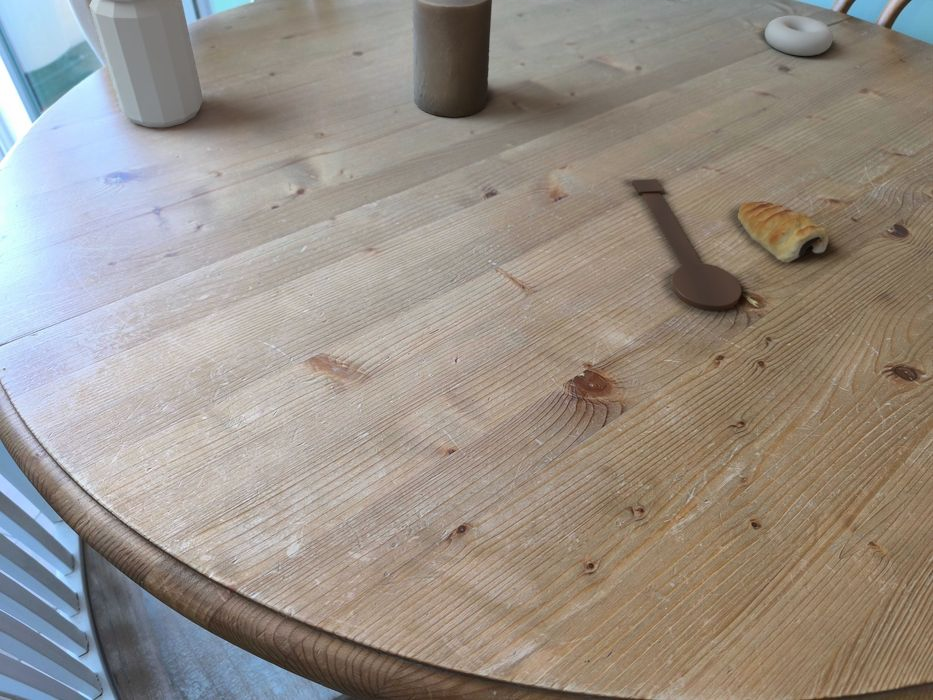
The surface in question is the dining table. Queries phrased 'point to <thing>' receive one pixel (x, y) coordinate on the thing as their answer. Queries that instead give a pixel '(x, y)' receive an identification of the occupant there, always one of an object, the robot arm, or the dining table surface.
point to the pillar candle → (451, 55)
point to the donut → (798, 35)
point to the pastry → (782, 230)
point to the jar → (149, 59)
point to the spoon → (689, 259)
